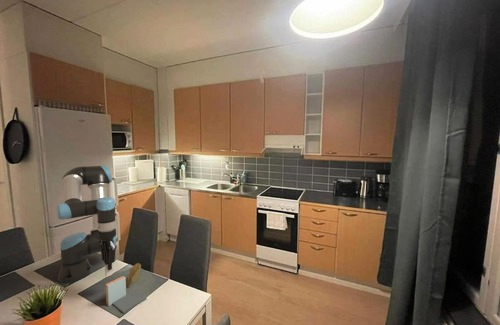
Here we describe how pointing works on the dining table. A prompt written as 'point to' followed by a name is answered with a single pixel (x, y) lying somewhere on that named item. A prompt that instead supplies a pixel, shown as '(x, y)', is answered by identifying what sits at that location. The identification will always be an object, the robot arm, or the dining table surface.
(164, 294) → the dining table surface
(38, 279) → the dining table surface
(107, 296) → the tile
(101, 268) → the dining table surface
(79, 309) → the dining table surface
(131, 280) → the rock
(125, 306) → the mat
